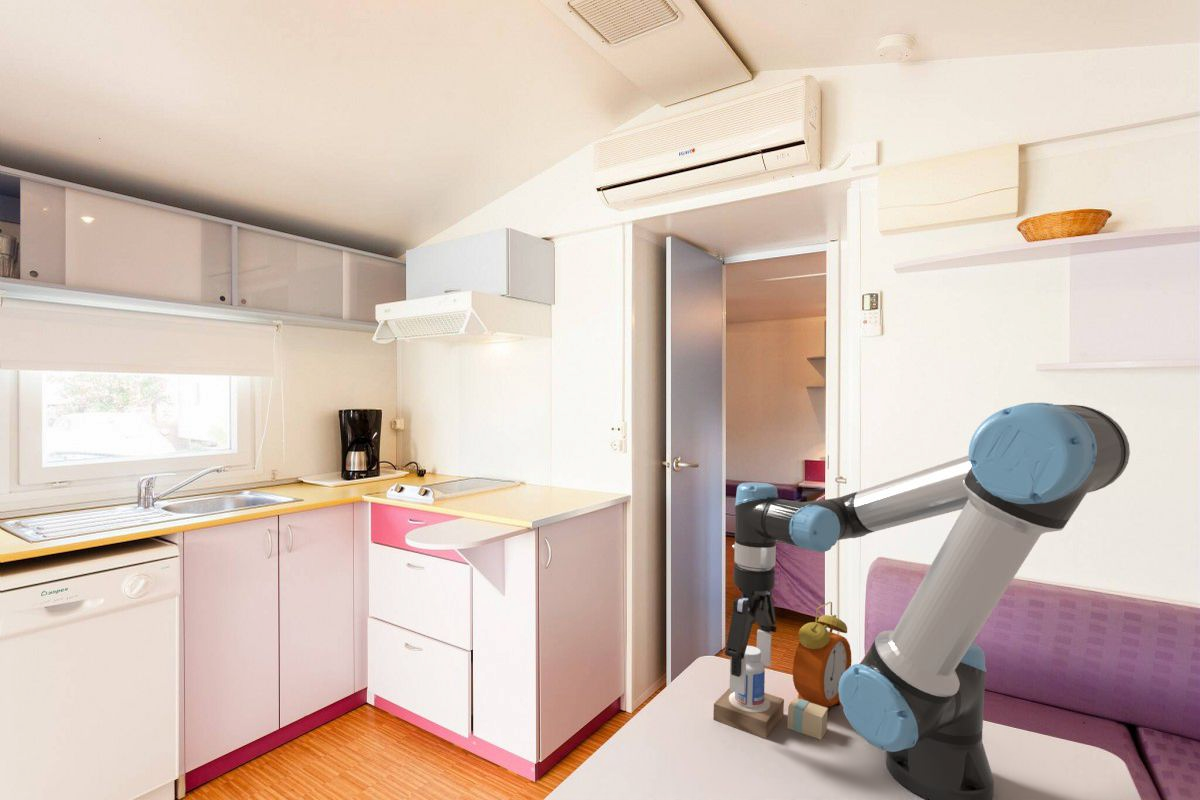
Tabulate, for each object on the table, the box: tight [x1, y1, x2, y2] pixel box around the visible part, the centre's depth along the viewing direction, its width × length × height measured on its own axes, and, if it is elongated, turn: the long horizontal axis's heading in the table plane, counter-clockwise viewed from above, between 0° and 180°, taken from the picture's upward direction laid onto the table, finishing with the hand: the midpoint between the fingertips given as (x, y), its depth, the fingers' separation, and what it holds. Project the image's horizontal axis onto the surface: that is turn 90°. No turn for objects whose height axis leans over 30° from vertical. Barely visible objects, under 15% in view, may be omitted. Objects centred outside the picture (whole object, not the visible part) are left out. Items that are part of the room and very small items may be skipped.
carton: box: [787, 697, 829, 740], centre depth 109 cm, size 6×4×4 cm
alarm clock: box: [792, 601, 852, 709], centre depth 117 cm, size 13×6×20 cm, turn 133°
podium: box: [712, 687, 785, 739], centre depth 112 cm, size 10×10×3 cm
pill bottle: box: [735, 645, 766, 708], centre depth 112 cm, size 6×5×10 cm
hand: (751, 677), depth 112 cm, fingers open, 13 cm apart
